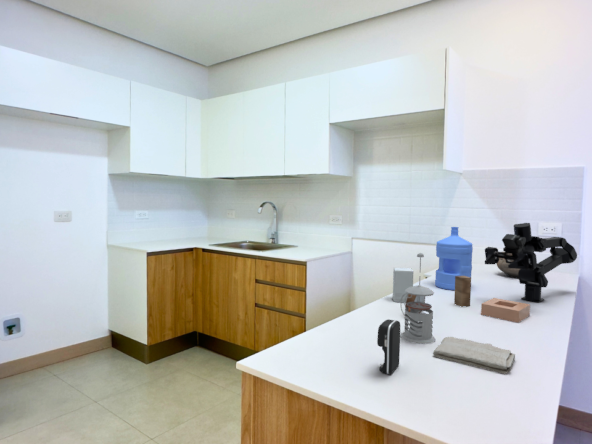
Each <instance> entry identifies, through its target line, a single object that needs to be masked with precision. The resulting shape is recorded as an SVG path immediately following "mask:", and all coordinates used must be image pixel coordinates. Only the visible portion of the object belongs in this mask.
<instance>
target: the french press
mask: <svg viewBox="0 0 592 444" xmlns="http://www.w3.org/2000/svg"><path fill="white" fill-rule="evenodd" d="M424 255H425V254H424V253H422V252H418V253H417V255H416V257H417V258H419V272H421V268H422V267H421V266H422V258H424V257H425V256H424ZM418 280H419V282H418V283H419V285H413V286H412V287H409V288H407V289H406V290H405V291H406V292H407V293H408V294H407V293H406V294H407V296H406V297H408V295H409V294H411V297H412V295H416V296H419V302H408V303H407V304H406V298H405V303H404V311H403V307H402V305H400V310H401V313H402V314H403V316H404V332H403V333H401V334H400V338H401V339H402V340H404V341H405V342H409V343H414V344H419V345H420V344H421V345H427V344H433V343H435V342H436V338H435V336H434V335H433V328H434V327H433V323H434V322H433V319H434V311H433V310H432V307H433V306H432V304H431V303H428V302H425V303H424V302H423V303H421V302H420V296H425V297H431V296H433V295H434V294H435V292H434V290H432V289H430V288H429V287H427V286H423V285H421V277H419V279H418ZM404 295H405V294H404ZM404 295H403V296H404ZM403 296H402V298H403ZM411 297H408V298H411ZM402 298H401V300H402ZM406 305H407V306H408V307H407V308H406ZM408 308H410V312H408ZM420 311H422V312H420ZM418 312H420V313H419V314H418ZM425 312H426V313H425Z"/></svg>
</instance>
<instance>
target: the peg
mask: <svg viewBox="0 0 592 444" xmlns="http://www.w3.org/2000/svg"><path fill="white" fill-rule="evenodd" d="M471 290H472V277H471V278H470V277H467V276H455V290H454V299H453V302H454V305H455V304H456V305H455V306H458V307H460V306H461V307H460V308H462V307H463V306H466V307H471V295H472V293H471V292H472V291H471ZM463 308H464V307H463Z"/></svg>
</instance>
